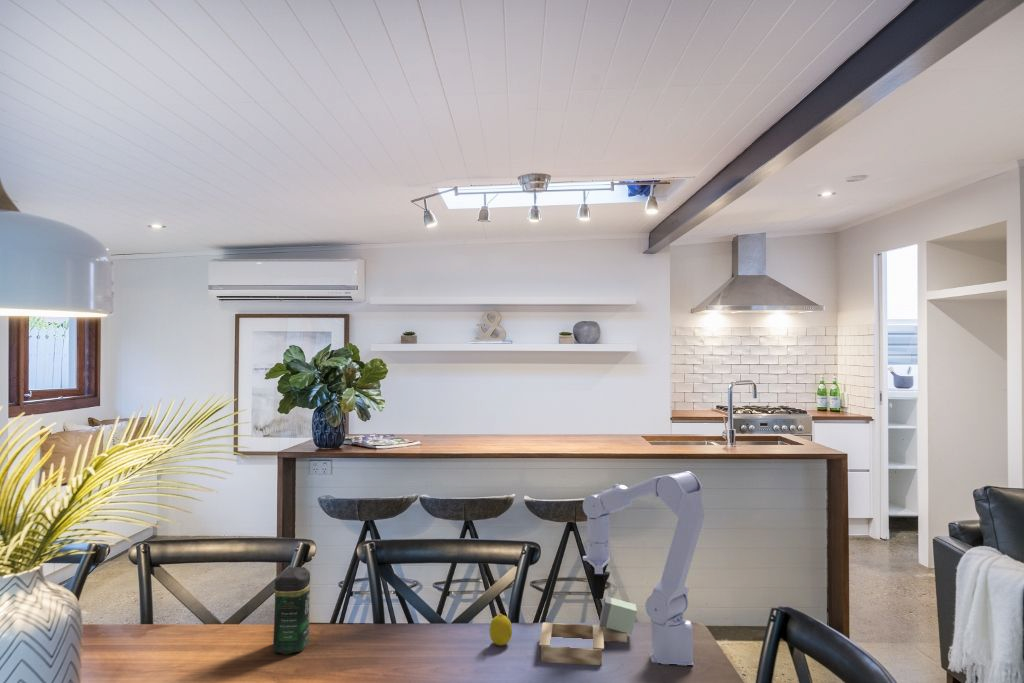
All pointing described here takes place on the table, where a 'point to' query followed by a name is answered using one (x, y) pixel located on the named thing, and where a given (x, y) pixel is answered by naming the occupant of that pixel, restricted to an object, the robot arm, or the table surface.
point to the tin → (618, 615)
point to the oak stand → (614, 635)
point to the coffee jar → (291, 610)
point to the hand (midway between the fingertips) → (598, 593)
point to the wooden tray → (569, 653)
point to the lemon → (500, 630)
